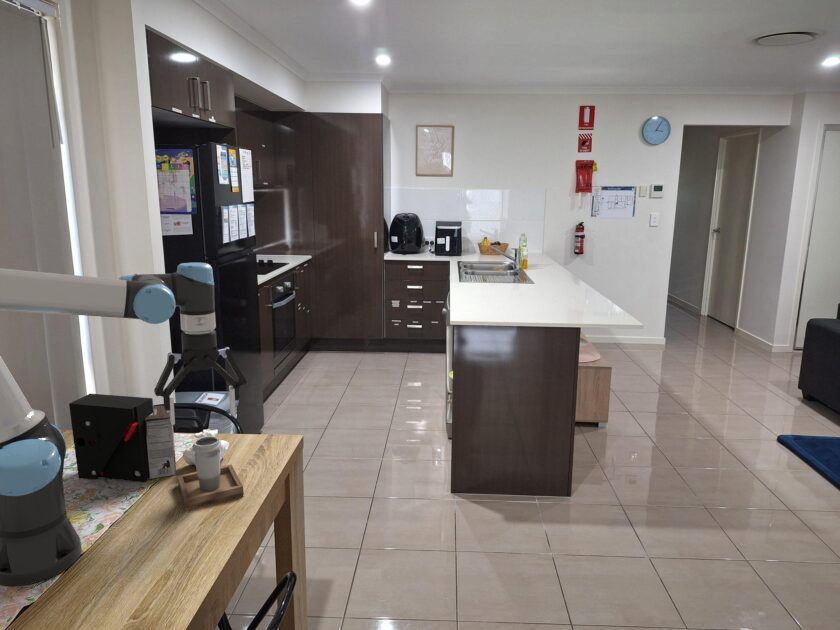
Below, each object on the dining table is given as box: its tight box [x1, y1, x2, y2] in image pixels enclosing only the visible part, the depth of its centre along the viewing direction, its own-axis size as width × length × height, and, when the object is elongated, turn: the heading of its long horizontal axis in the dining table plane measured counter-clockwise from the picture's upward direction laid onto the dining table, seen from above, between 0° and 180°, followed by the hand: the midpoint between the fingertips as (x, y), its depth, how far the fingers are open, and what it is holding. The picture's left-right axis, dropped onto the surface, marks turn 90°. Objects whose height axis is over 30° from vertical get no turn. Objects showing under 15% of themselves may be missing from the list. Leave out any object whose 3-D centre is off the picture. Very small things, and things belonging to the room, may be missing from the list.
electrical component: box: [68, 393, 155, 483], centre depth 152 cm, size 18×10×20 cm, turn 80°
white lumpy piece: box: [182, 428, 230, 466], centre depth 158 cm, size 12×8×11 cm
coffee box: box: [145, 405, 177, 479], centre depth 154 cm, size 9×6×16 cm
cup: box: [191, 436, 222, 492], centre depth 144 cm, size 7×7×12 cm
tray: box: [177, 464, 245, 510], centre depth 145 cm, size 13×13×2 cm
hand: (203, 418), depth 141 cm, fingers open, 13 cm apart
